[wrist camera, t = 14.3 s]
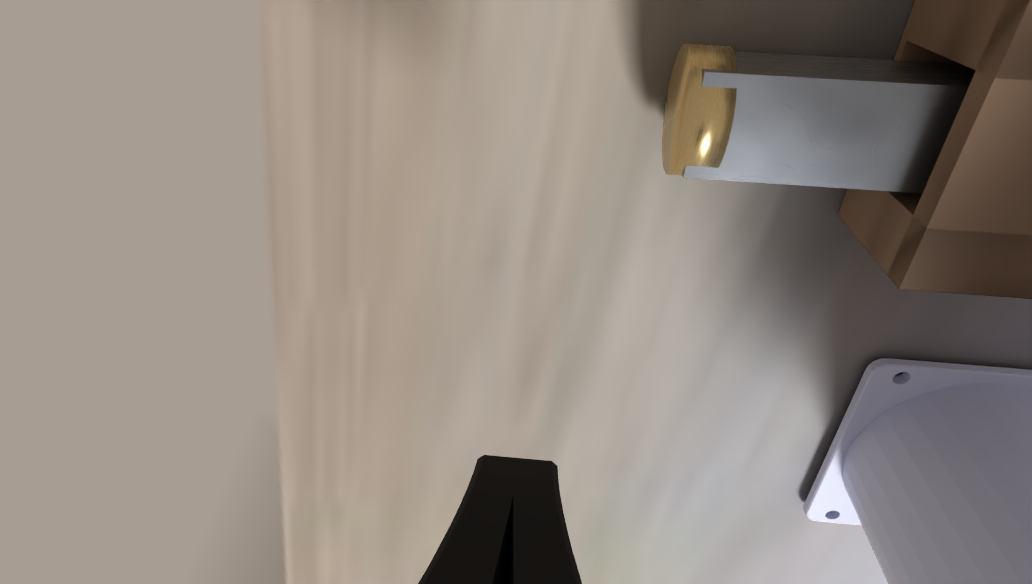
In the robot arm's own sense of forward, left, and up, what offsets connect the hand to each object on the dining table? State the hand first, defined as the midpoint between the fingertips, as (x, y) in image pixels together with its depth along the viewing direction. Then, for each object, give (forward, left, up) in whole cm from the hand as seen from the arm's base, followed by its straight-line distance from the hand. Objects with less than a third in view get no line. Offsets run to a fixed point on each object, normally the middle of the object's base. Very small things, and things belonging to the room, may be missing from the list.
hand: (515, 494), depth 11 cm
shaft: (-10, -5, -9) cm, 15 cm away
